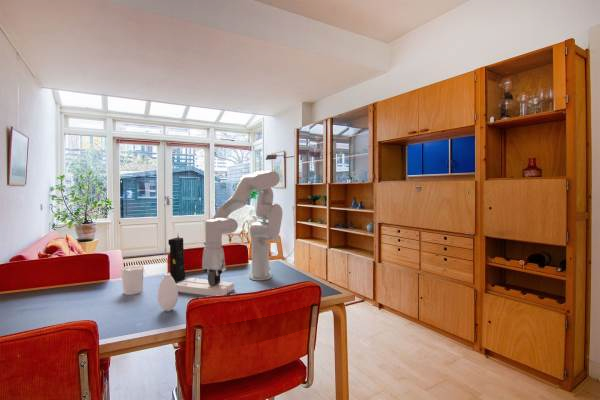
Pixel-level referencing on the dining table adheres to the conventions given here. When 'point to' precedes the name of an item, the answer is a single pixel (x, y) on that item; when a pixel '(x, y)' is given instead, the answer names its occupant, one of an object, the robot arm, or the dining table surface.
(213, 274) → the fader tab
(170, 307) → the sauce bottle
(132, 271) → the candle holder
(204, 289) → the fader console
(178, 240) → the portable radio
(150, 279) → the dining table surface
